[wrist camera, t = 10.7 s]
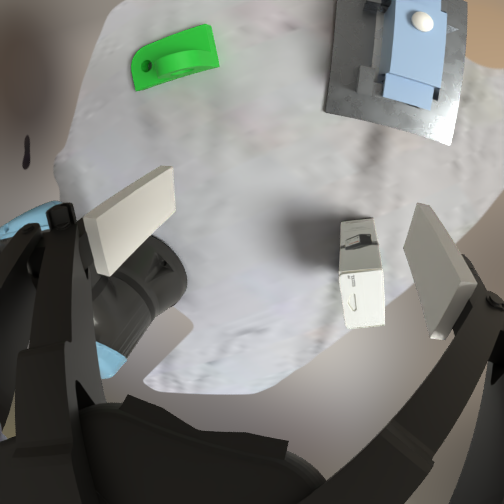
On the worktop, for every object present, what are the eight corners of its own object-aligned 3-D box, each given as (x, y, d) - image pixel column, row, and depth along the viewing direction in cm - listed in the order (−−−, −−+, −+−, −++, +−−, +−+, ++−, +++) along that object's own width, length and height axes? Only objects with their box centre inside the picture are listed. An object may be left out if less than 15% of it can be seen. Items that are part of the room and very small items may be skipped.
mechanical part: (211, 26, 29) (181, 16, 22) (220, 66, 32) (191, 65, 25) (136, 53, 33) (98, 54, 26) (143, 90, 36) (107, 96, 29)
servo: (375, 94, 28) (387, 98, 21) (385, -4, 21) (397, -26, 14) (416, 105, 27) (438, 113, 20) (426, 8, 20) (449, -9, 13)
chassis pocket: (325, 112, 32) (323, 117, 27) (339, -34, 20) (338, -51, 16) (448, 144, 29) (464, 155, 24) (465, 3, 17) (483, -6, 13)
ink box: (380, 269, 41) (386, 327, 31) (348, 272, 43) (345, 331, 33) (375, 216, 37) (384, 267, 27) (339, 221, 39) (336, 272, 29)
